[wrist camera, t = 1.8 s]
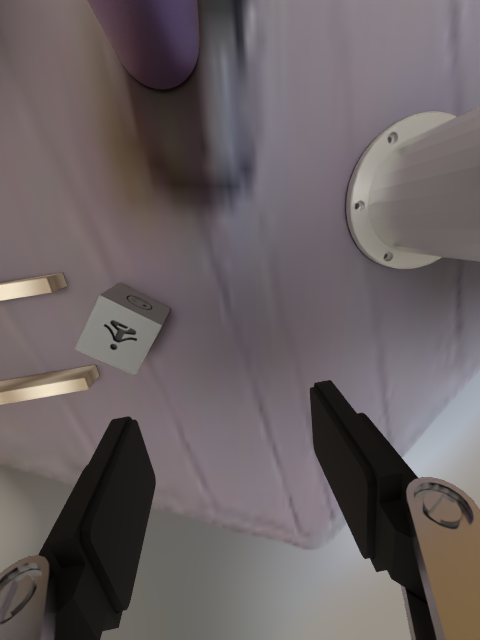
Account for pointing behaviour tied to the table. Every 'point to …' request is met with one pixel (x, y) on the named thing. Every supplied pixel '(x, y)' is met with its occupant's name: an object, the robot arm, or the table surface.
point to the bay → (49, 381)
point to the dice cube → (122, 328)
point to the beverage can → (152, 37)
